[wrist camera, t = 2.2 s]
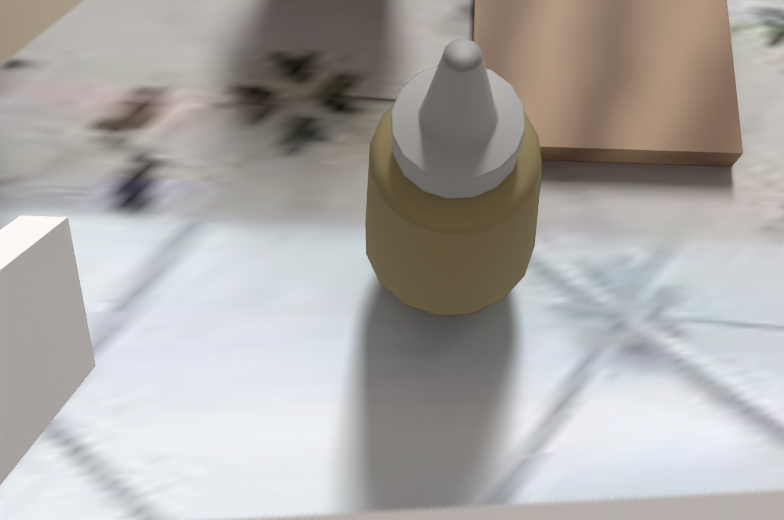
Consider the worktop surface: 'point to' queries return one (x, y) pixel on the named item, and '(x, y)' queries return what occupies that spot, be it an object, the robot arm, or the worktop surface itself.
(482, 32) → the walnut board
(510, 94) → the squeeze bottle
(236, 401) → the worktop surface
